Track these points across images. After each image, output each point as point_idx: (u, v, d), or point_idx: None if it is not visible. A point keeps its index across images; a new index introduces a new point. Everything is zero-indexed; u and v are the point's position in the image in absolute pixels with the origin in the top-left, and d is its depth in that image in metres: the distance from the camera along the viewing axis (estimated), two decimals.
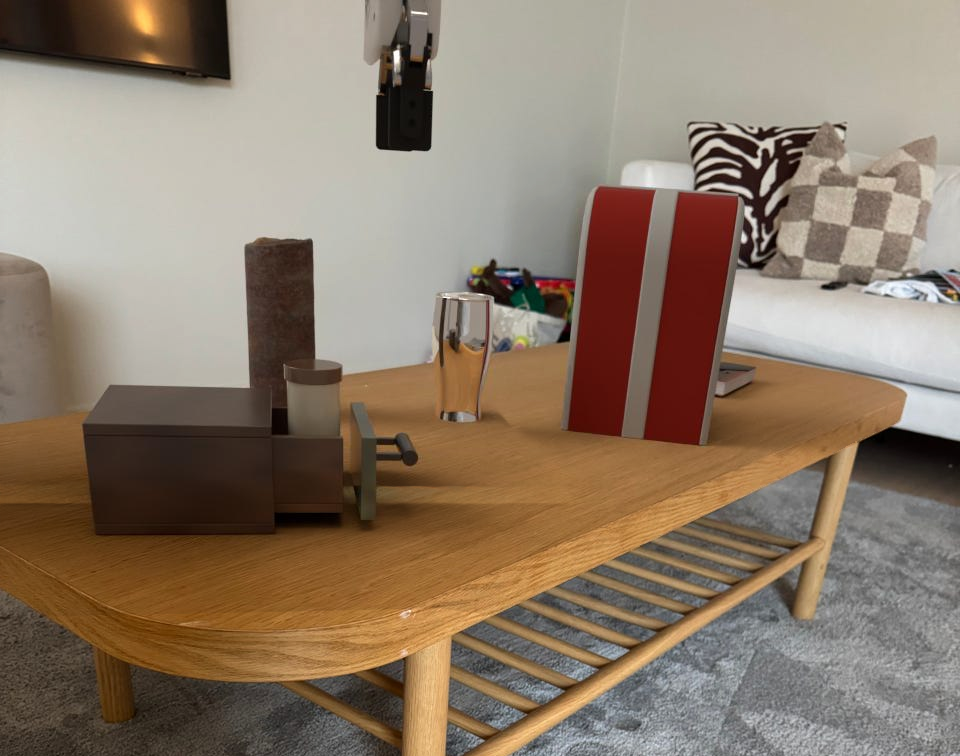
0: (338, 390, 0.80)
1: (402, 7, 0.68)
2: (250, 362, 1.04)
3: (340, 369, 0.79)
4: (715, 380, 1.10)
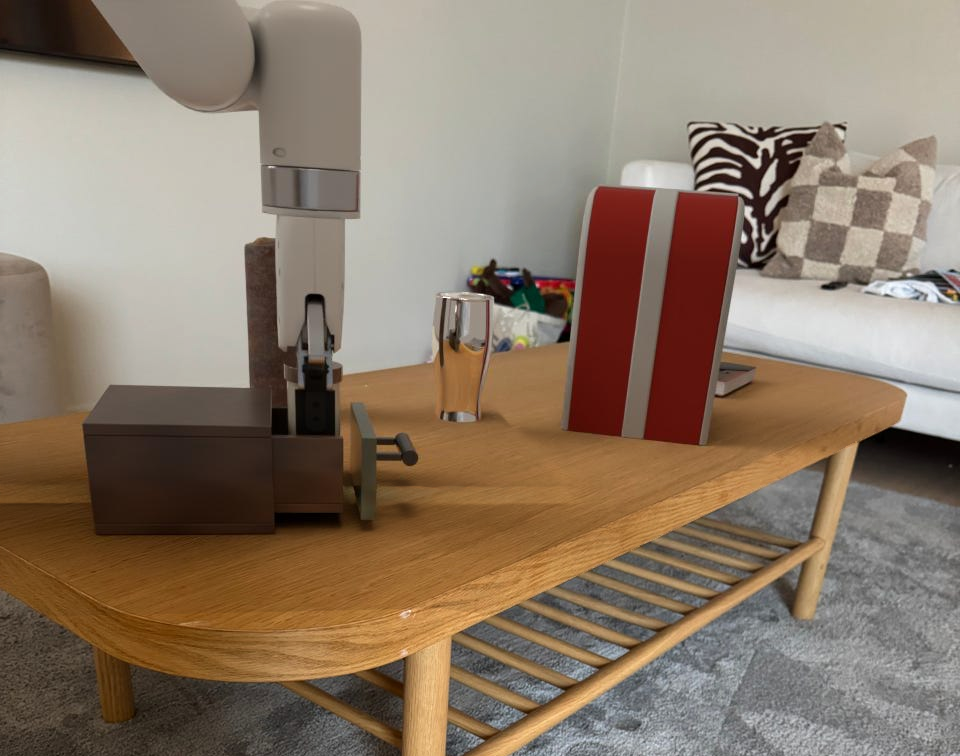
0: (338, 390, 0.80)
1: (304, 315, 0.72)
2: (250, 362, 1.04)
3: (340, 369, 0.79)
4: (715, 380, 1.10)
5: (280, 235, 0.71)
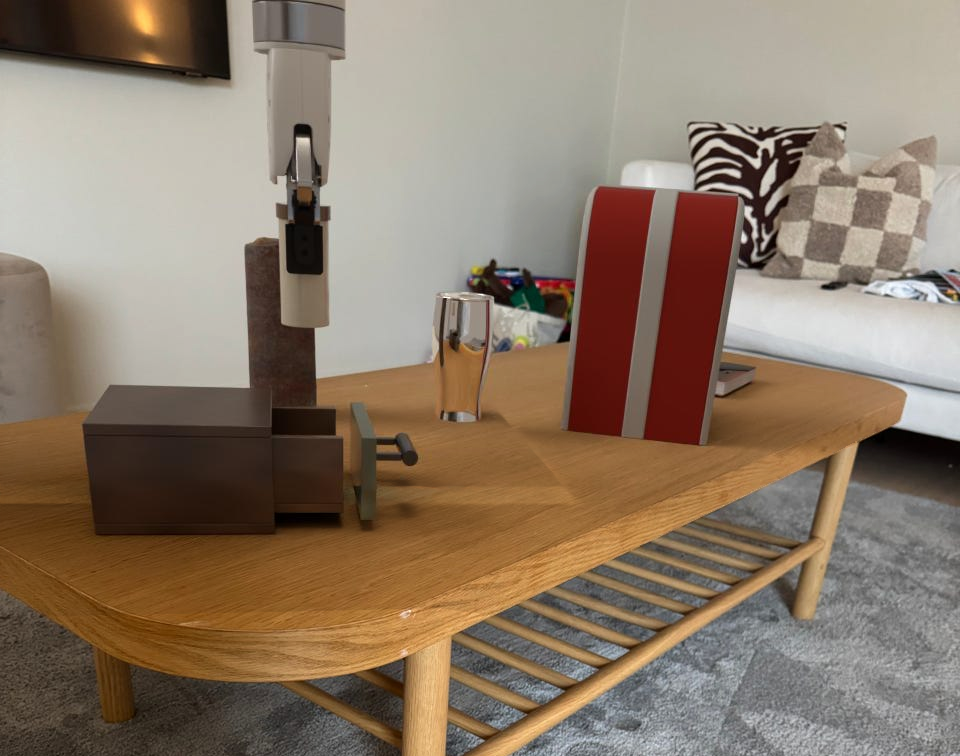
0: (326, 229, 0.85)
1: (293, 144, 0.78)
2: (250, 362, 1.04)
3: (328, 208, 0.84)
4: (715, 380, 1.10)
5: (270, 67, 0.76)
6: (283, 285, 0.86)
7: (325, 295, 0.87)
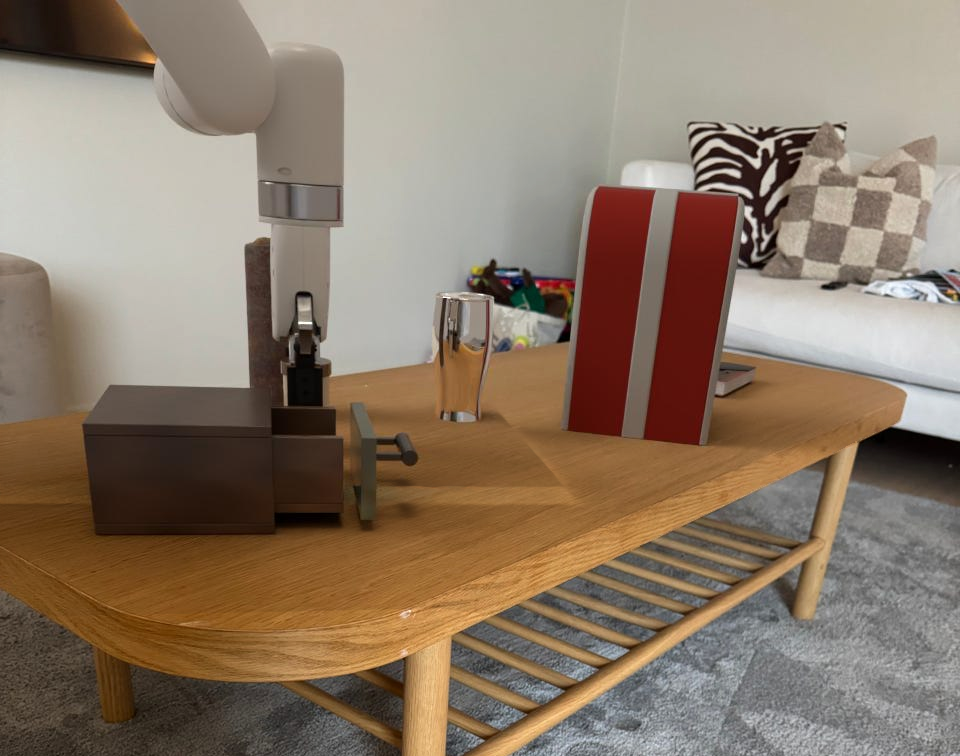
0: (327, 383, 0.92)
1: (295, 309, 0.84)
2: (250, 362, 1.04)
3: (329, 364, 0.91)
4: (715, 380, 1.10)
5: (274, 241, 0.83)
6: None
7: None
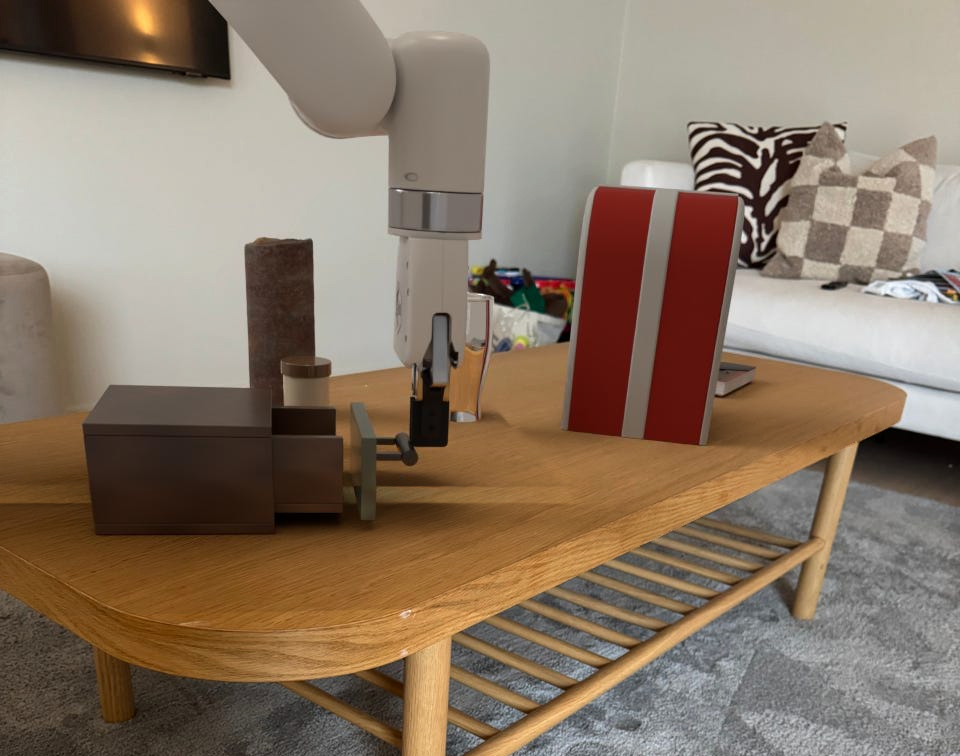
0: (327, 383, 0.92)
1: (431, 333, 0.75)
2: (250, 362, 1.04)
3: (329, 364, 0.91)
4: (715, 380, 1.10)
5: (410, 256, 0.73)
6: None
7: None
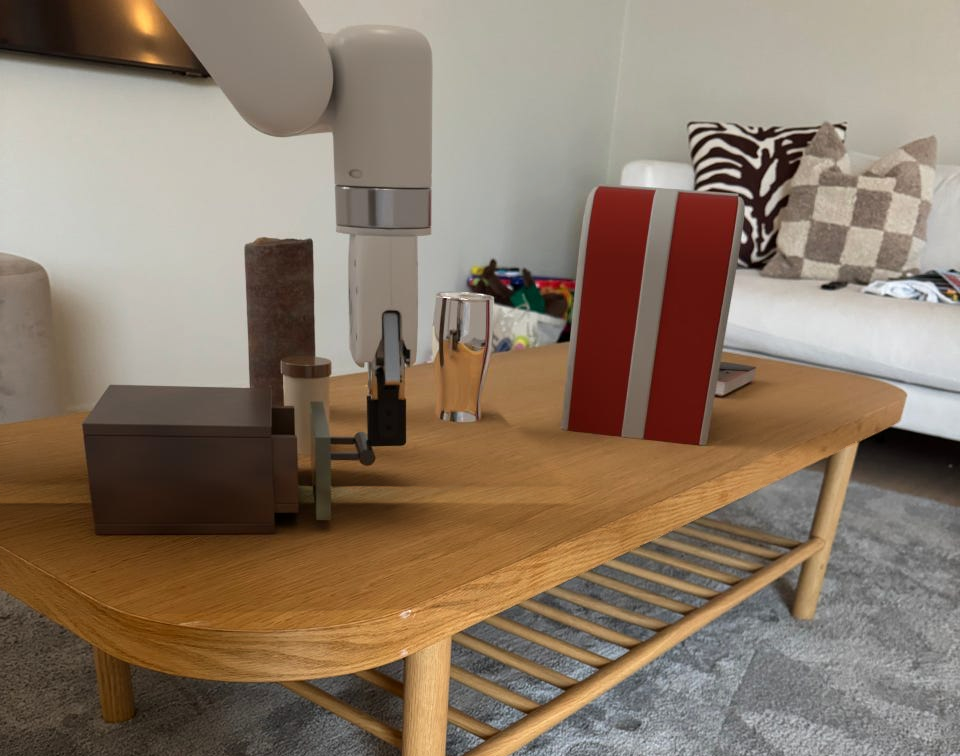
0: (327, 383, 0.92)
1: (381, 331, 0.74)
2: (250, 362, 1.04)
3: (329, 364, 0.91)
4: (715, 380, 1.10)
5: (357, 254, 0.72)
6: None
7: None
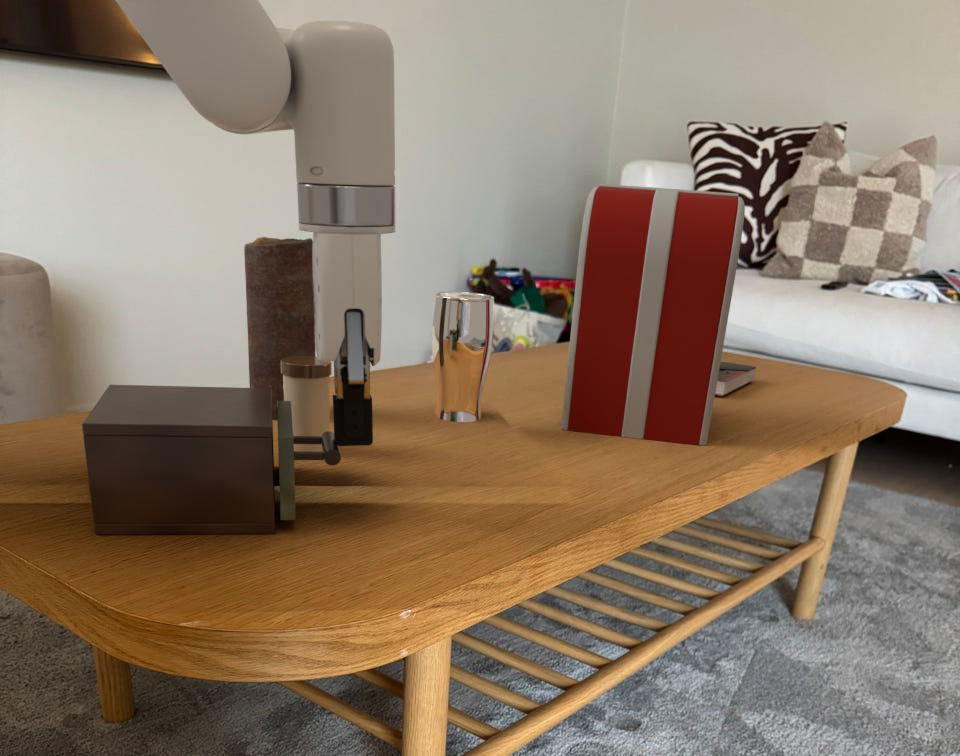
0: (327, 383, 0.92)
1: (344, 330, 0.73)
2: (250, 362, 1.04)
3: (329, 364, 0.91)
4: (715, 380, 1.10)
5: (319, 252, 0.72)
6: None
7: None
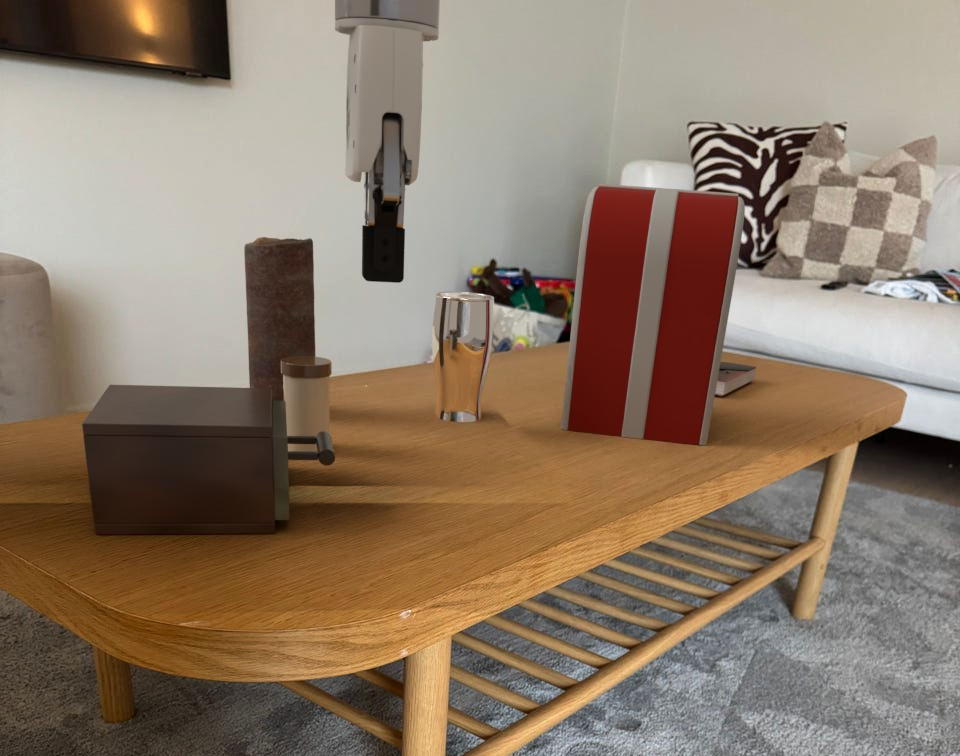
0: (327, 383, 0.92)
1: (381, 136, 0.68)
2: (250, 362, 1.04)
3: (329, 364, 0.91)
4: (715, 380, 1.10)
5: (357, 47, 0.67)
6: (287, 433, 0.93)
7: None
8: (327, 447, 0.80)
